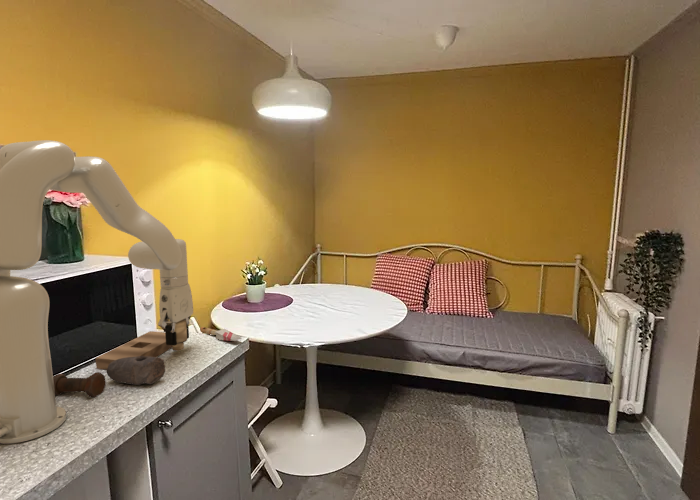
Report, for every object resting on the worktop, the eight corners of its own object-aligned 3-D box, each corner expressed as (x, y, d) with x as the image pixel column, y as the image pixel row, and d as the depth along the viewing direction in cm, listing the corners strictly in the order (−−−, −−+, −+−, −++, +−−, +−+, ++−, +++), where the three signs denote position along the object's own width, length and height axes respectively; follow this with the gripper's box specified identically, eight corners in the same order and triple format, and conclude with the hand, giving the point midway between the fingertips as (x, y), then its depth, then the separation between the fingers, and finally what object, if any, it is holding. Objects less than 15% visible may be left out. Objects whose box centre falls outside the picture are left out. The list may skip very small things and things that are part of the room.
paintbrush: (233, 336, 132) (197, 326, 144) (233, 345, 132) (197, 334, 144) (243, 333, 135) (207, 323, 147) (244, 341, 135) (207, 331, 147)
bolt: (45, 397, 105) (102, 398, 103) (28, 396, 100) (88, 397, 98) (52, 372, 107) (108, 373, 105) (36, 370, 102) (94, 371, 100)
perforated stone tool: (101, 385, 107) (98, 359, 106) (115, 376, 112) (113, 351, 111) (155, 389, 104) (153, 362, 103) (168, 380, 109) (166, 354, 108)
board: (130, 372, 114) (129, 361, 114) (96, 368, 117) (95, 358, 116) (180, 342, 135) (180, 333, 135) (150, 340, 138) (150, 331, 137)
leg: (180, 352, 124) (179, 324, 123) (164, 351, 125) (163, 323, 124) (191, 346, 129) (189, 319, 128) (175, 345, 130) (174, 318, 129)
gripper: (166, 288, 115) (170, 353, 117) (202, 276, 131) (205, 333, 134) (142, 287, 117) (147, 350, 119) (180, 275, 133) (184, 331, 136)
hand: (177, 340), depth 126 cm, fingers closed on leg, 5 cm apart
